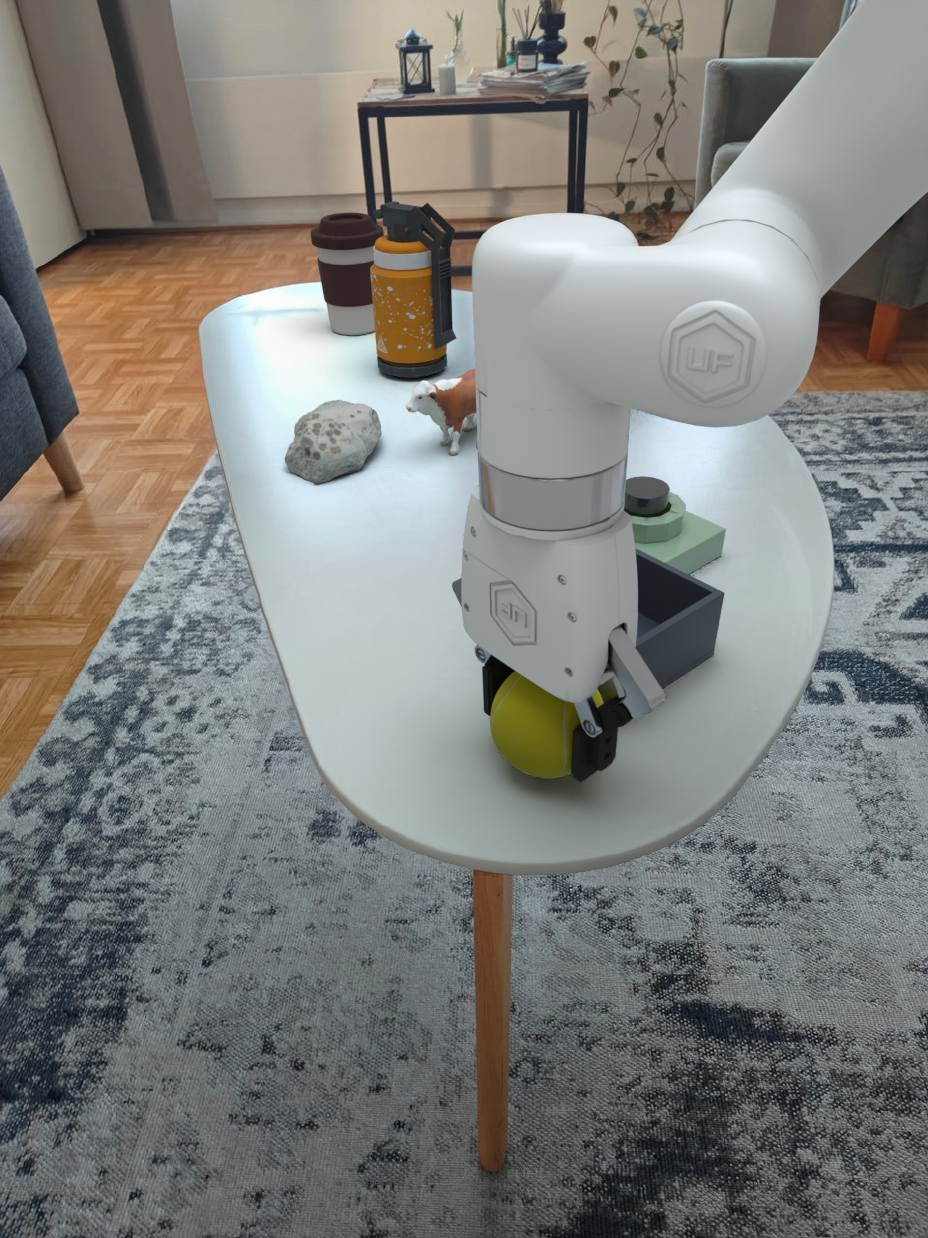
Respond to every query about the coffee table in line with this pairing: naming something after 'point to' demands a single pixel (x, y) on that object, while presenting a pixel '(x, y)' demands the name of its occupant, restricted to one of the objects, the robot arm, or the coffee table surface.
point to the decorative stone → (333, 440)
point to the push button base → (679, 537)
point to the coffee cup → (347, 269)
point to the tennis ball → (534, 727)
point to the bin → (673, 619)
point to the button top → (646, 497)
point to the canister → (412, 291)
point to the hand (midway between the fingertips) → (547, 734)
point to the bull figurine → (447, 405)
